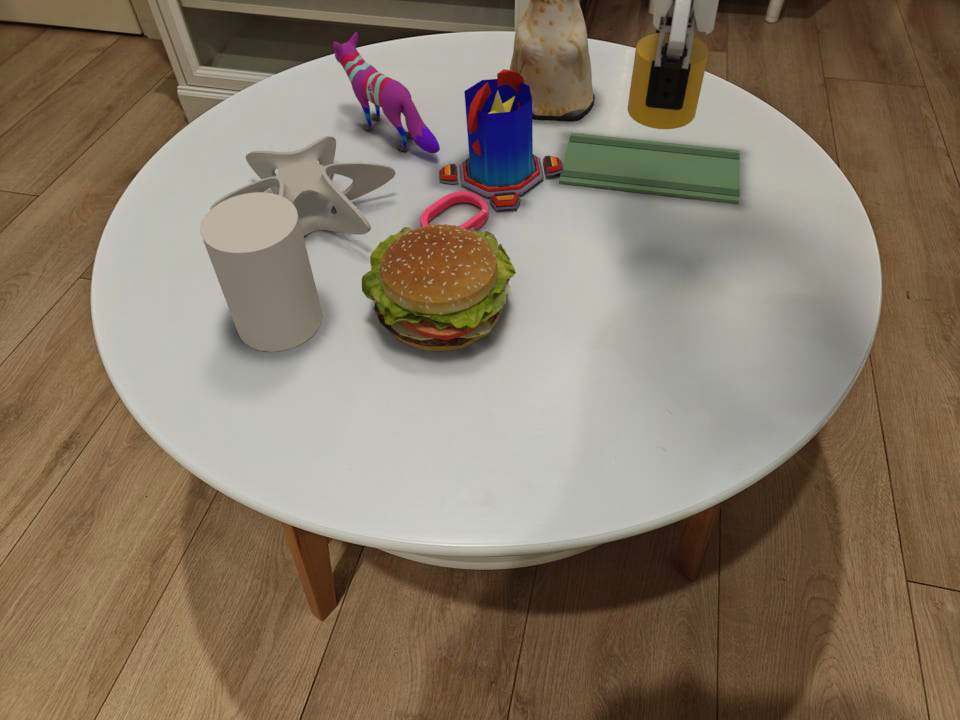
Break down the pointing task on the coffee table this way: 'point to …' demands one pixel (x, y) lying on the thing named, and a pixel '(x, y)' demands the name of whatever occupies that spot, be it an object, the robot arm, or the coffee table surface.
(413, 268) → the food
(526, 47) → the figurine
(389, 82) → the magenta toy fox
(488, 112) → the fantasy tower
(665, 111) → the yellow stemmed cylinder
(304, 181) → the sculpture
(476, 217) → the fitness band
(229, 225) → the beige solid cylinder
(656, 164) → the green grooved tray
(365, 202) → the coffee table surface
